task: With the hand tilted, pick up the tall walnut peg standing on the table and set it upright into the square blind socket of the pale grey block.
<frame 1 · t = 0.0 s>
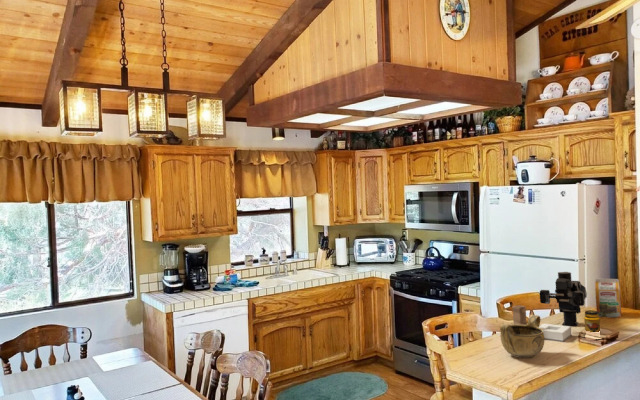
hand: (558, 301, 230), 17 cm above the breakfast bar, tool horizontal, fingers open, 9 cm apart
ceramic bowl: (523, 356, 208), on the breakfast bar
socket block: (553, 336, 232), on the breakfast bar
peg: (520, 336, 235), on the breakfast bar
condiment: (591, 338, 227), on the breakfast bar
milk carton: (609, 315, 263), on the breakfast bar
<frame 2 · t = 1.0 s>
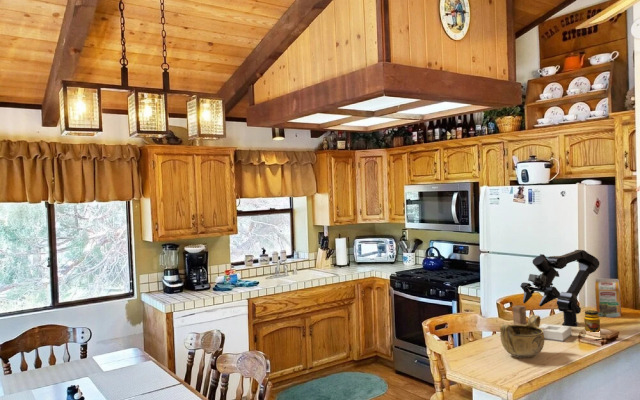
hand: (531, 304, 239), 14 cm above the breakfast bar, tool tilted 45°, fingers open, 9 cm apart
nothing on the breakfast bar moved.
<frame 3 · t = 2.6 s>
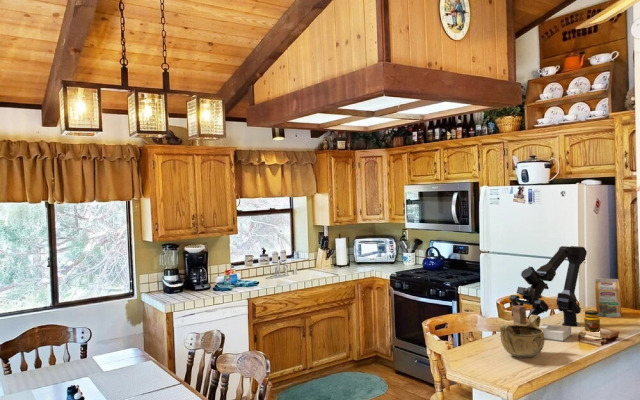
hand: (520, 317, 235), 9 cm above the breakfast bar, tool tilted 45°, fingers open, 9 cm apart
nothing on the breakfast bar moved.
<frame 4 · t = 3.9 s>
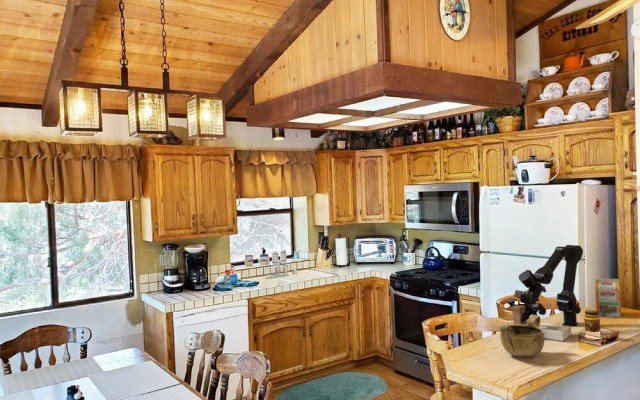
hand: (517, 321, 235), 7 cm above the breakfast bar, tool tilted 45°, fingers closed on peg, 4 cm apart
peg: (520, 336, 235), on the breakfast bar, touching gripper
everything else where it was.
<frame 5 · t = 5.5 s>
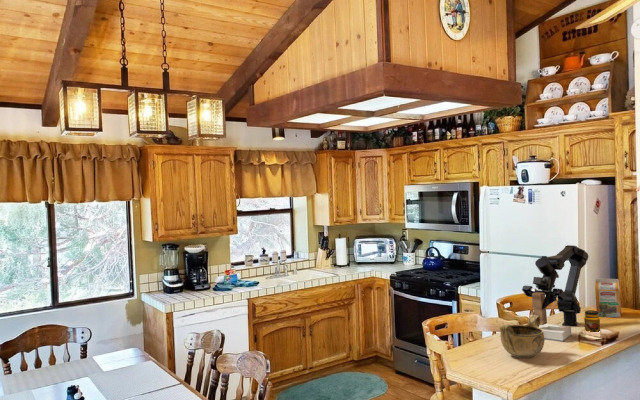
hand: (538, 308, 232), 13 cm above the breakfast bar, tool tilted 45°, fingers closed on peg, 4 cm apart
peg: (540, 323, 233), point 6 cm above the breakfast bar, touching gripper
everything else where it was.
when the fingers open (9 cm above the breakfast bar, at t = 7.2 s): peg drops 2 cm, resting on socket block.
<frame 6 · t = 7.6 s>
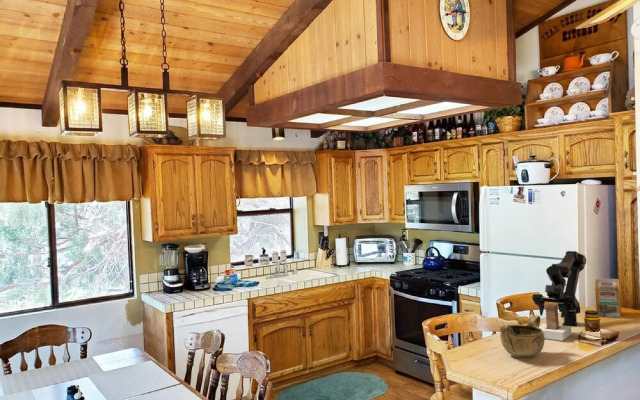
hand: (551, 316, 231), 10 cm above the breakfast bar, tool tilted 45°, fingers open, 9 cm apart
peg: (553, 335, 232), point 1 cm above the breakfast bar, touching socket block
everything else where it was.
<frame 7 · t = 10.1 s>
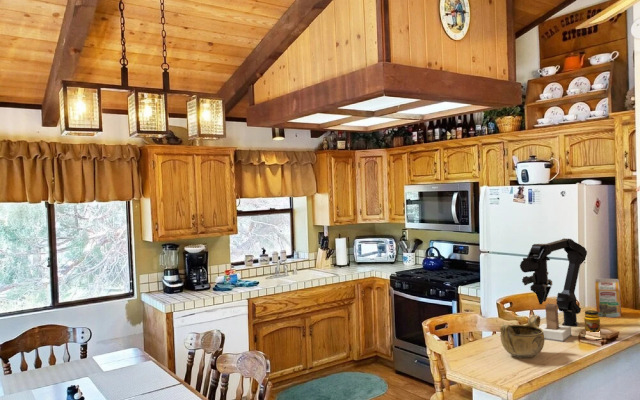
hand: (542, 302, 243), 13 cm above the breakfast bar, tool pointing down, fingers open, 7 cm apart
nothing on the breakfast bar moved.
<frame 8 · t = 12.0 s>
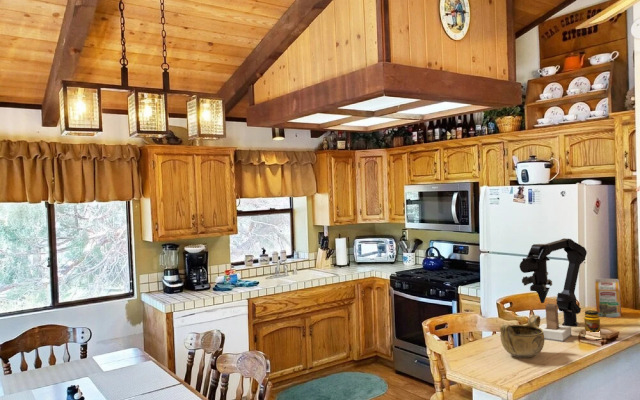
hand: (542, 303, 243), 13 cm above the breakfast bar, tool pointing down, fingers closed
nothing on the breakfast bar moved.
at the end: peg 0.0 cm off-centre on the socket block, point 0.6 cm above the socket block's base; peg tilted 0°; the gripper is holding nothing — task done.
